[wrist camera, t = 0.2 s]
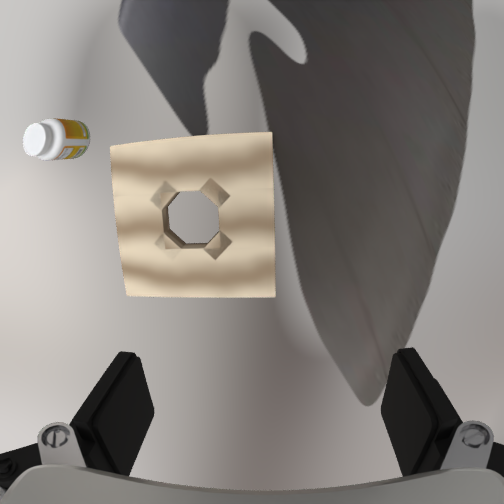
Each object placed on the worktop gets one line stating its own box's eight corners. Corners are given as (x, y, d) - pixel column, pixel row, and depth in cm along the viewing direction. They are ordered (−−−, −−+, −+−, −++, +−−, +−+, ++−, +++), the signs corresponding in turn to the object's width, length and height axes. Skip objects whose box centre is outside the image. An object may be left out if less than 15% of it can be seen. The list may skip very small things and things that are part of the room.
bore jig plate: (118, 146, 39) (109, 146, 36) (271, 133, 37) (272, 132, 35) (133, 288, 44) (127, 295, 42) (275, 289, 43) (275, 297, 41)
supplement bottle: (66, 118, 38) (23, 114, 28) (95, 123, 38) (54, 119, 29) (58, 154, 39) (15, 158, 30) (86, 161, 39) (44, 165, 30)
